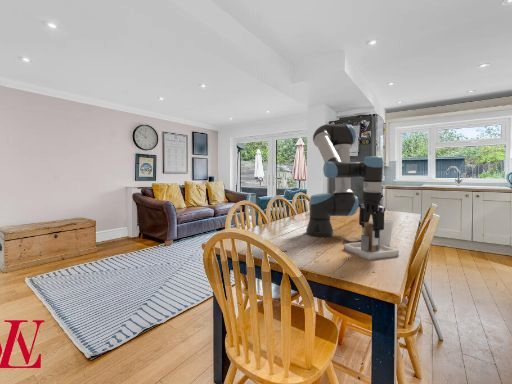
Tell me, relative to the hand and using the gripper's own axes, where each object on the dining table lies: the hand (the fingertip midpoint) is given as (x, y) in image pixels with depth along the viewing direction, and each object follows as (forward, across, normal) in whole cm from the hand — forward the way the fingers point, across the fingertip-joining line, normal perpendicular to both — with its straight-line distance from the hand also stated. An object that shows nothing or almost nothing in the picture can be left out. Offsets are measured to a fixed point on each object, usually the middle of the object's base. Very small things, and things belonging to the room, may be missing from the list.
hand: (370, 243), depth 117 cm
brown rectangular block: (+3, 0, 0) cm, 3 cm away
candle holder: (+4, -10, +16) cm, 19 cm away
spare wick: (+5, -15, +5) cm, 17 cm away
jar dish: (+4, 0, 0) cm, 4 cm away
